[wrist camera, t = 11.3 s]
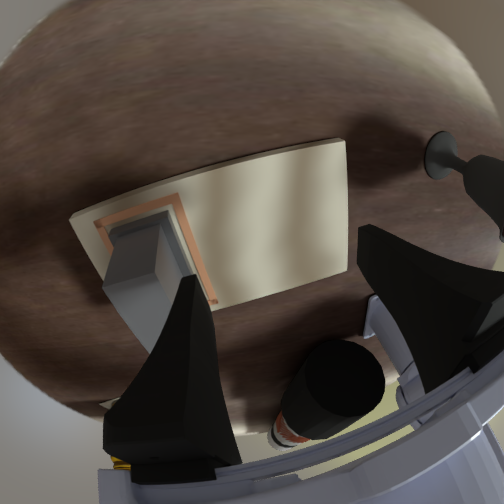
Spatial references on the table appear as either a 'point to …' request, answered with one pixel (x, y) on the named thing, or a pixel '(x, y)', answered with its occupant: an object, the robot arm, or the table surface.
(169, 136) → the table surface
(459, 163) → the sundae
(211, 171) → the board
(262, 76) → the table surface
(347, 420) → the striped banded cylinder
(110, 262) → the block
